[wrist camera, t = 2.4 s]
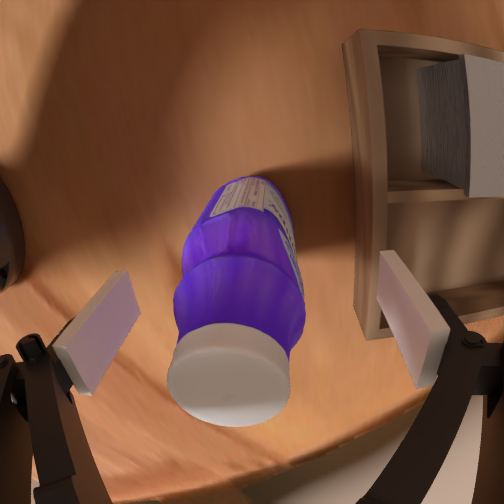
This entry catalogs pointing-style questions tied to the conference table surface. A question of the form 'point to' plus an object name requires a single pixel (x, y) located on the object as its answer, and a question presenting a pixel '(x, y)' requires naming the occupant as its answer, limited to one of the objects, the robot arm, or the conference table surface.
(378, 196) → the crate
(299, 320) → the bottle
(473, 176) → the block
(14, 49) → the conference table surface
